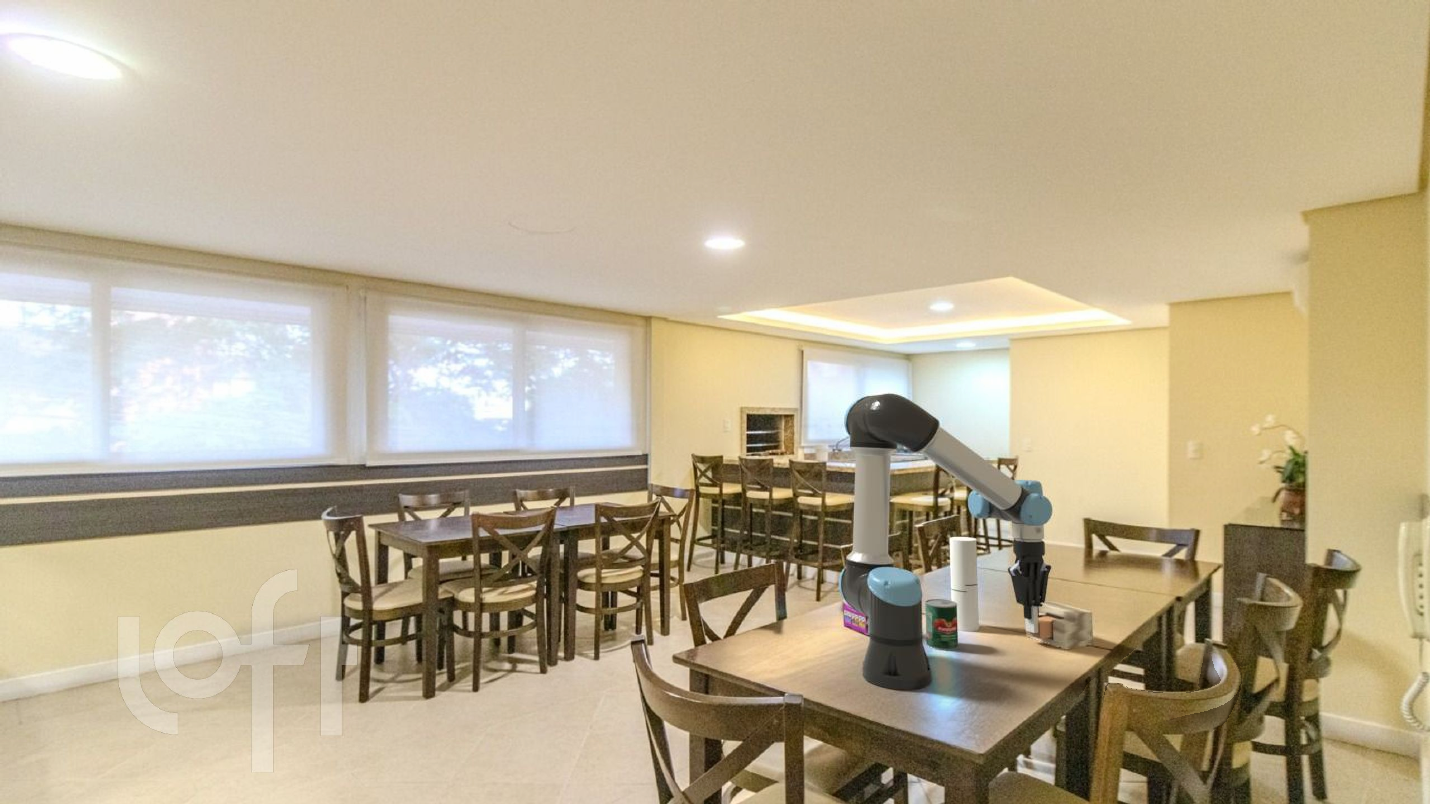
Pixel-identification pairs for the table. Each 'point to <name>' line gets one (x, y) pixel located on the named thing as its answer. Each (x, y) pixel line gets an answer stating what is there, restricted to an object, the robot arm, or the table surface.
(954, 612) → the canned tomato
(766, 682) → the table surface
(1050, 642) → the sleeve
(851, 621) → the candy bar box
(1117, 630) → the table surface
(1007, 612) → the table surface
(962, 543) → the cylindrical container
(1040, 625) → the peg
